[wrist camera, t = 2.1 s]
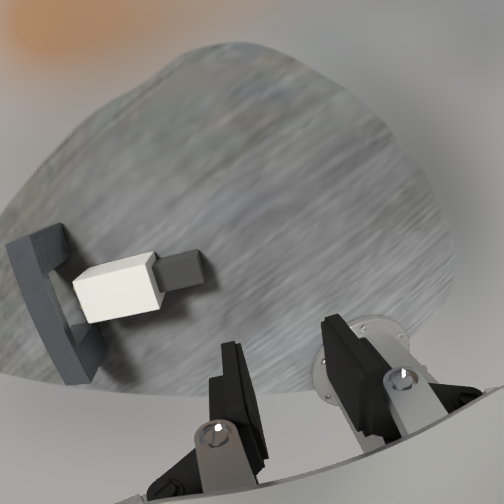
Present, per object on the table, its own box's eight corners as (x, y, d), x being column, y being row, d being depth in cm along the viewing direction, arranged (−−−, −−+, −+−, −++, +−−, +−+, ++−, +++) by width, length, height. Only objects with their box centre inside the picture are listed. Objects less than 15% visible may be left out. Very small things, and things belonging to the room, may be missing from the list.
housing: (60, 222, 26) (29, 235, 20) (107, 349, 29) (90, 383, 24) (37, 230, 25) (5, 244, 20) (84, 353, 29) (66, 385, 23)
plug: (196, 240, 28) (193, 252, 24) (206, 281, 29) (206, 298, 25) (80, 269, 27) (63, 284, 23) (93, 306, 28) (79, 325, 24)
